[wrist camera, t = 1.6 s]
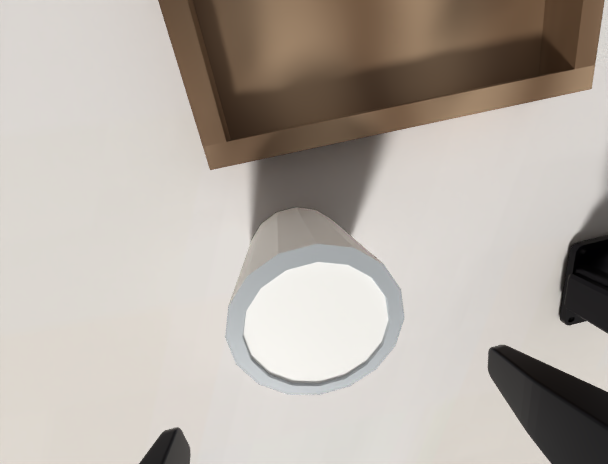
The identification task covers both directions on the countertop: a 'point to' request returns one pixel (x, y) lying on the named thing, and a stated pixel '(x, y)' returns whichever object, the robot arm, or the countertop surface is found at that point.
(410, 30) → the walnut tray
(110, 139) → the countertop surface
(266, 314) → the white cup
